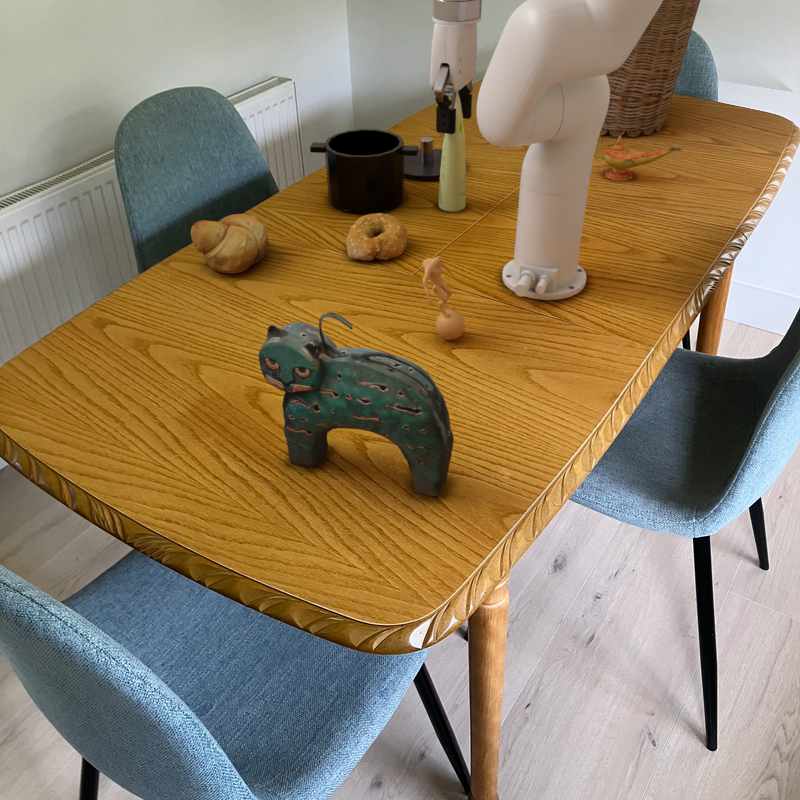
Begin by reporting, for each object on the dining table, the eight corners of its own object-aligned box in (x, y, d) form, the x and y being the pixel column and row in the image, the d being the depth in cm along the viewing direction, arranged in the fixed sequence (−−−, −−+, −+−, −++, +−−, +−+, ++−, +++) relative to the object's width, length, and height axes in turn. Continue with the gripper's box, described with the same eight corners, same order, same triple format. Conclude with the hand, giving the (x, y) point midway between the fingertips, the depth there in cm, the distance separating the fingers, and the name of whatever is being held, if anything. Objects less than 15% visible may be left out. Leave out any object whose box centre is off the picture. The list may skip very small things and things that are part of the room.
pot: (413, 216, 136) (413, 158, 129) (307, 212, 138) (302, 154, 131) (422, 185, 146) (422, 130, 140) (323, 182, 149) (319, 127, 142)
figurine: (453, 356, 102) (456, 276, 94) (411, 347, 104) (410, 268, 96) (473, 324, 108) (476, 247, 100) (433, 316, 110) (433, 239, 102)
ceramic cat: (271, 465, 86) (246, 312, 73) (297, 430, 90) (278, 280, 78) (440, 510, 80) (443, 352, 68) (458, 470, 85) (465, 315, 72)
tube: (473, 209, 138) (478, 97, 126) (450, 216, 136) (453, 103, 124) (454, 198, 142) (457, 88, 129) (432, 205, 139) (433, 94, 127)
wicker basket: (717, 148, 159) (761, -34, 138) (547, 150, 160) (566, -31, 139) (672, 96, 186) (703, -62, 166) (527, 98, 187) (541, -59, 167)
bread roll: (244, 237, 130) (237, 192, 125) (289, 250, 126) (284, 204, 121) (191, 269, 122) (181, 222, 117) (238, 284, 118) (230, 236, 113)
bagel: (331, 252, 126) (329, 225, 123) (377, 229, 132) (377, 203, 129) (374, 271, 120) (373, 244, 117) (421, 247, 127) (421, 220, 124)
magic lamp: (671, 191, 143) (684, 131, 136) (576, 175, 149) (584, 118, 142) (678, 177, 147) (691, 119, 141) (586, 163, 154) (594, 107, 147)
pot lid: (461, 183, 147) (462, 154, 144) (384, 180, 149) (383, 151, 145) (466, 154, 159) (467, 127, 155) (395, 152, 160) (394, 125, 157)
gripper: (453, -4, 126) (450, 107, 137) (413, 20, 113) (414, 139, 124) (497, -1, 124) (490, 111, 135) (461, 24, 111) (457, 145, 122)
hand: (453, 124), depth 129 cm, fingers closed on tube, 7 cm apart
